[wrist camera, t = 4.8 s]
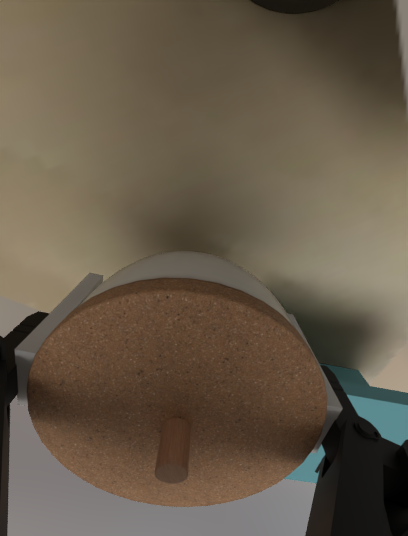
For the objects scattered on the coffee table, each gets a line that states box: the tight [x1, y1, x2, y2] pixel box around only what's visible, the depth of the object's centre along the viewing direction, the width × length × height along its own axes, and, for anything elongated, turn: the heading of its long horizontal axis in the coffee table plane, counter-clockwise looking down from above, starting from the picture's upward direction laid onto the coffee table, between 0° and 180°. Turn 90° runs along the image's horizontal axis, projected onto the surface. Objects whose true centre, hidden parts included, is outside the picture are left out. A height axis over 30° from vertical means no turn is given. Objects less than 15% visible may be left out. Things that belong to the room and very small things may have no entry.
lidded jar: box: [27, 251, 328, 507], centre depth 12 cm, size 11×11×9 cm
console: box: [284, 363, 408, 483], centre depth 26 cm, size 9×16×14 cm, turn 77°
